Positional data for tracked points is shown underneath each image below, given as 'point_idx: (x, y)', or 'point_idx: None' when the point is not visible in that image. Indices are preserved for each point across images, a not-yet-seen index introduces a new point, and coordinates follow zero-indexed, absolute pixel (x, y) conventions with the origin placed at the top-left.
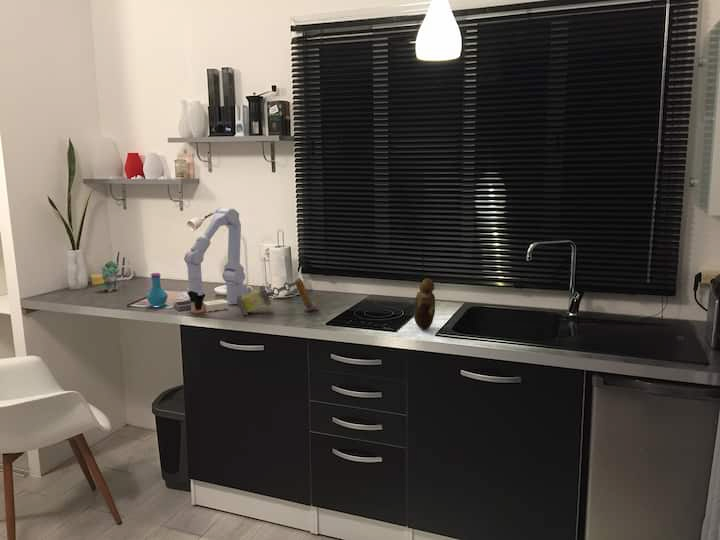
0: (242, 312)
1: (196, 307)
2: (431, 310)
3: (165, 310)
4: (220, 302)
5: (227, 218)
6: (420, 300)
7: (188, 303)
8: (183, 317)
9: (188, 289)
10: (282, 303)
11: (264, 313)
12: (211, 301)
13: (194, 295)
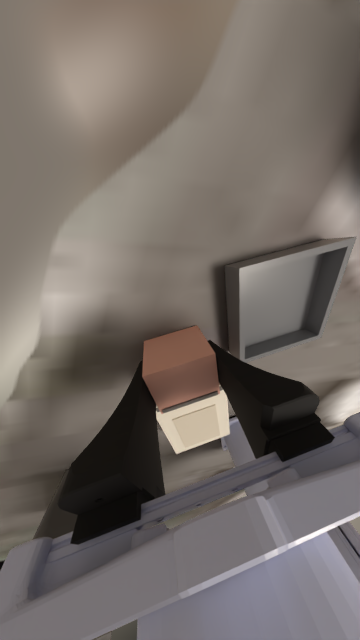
0: (59, 485)
1: (136, 372)
2: None
3: (282, 170)
4: (182, 440)
5: None
6: None
7: (309, 313)
8: (52, 289)
9: (178, 593)
10: (180, 486)
11: None
12: (215, 414)
13: (59, 505)
